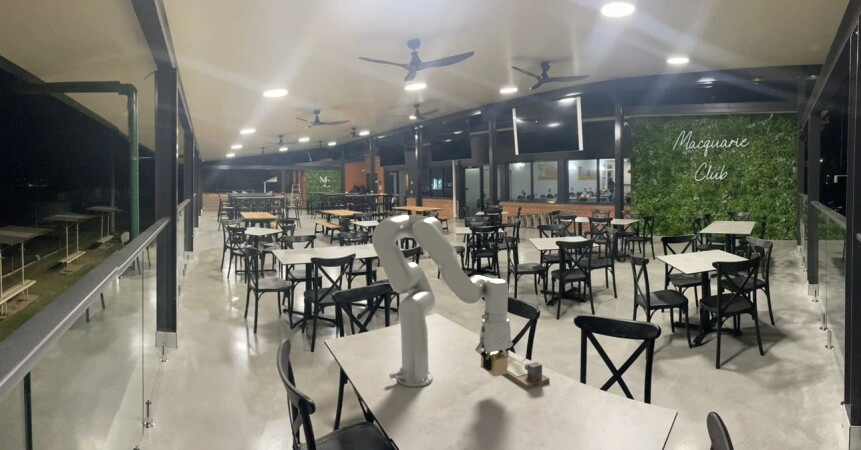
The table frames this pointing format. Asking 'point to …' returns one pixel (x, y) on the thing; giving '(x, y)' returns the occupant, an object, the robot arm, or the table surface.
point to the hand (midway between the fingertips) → (493, 367)
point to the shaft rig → (525, 373)
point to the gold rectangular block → (496, 363)
